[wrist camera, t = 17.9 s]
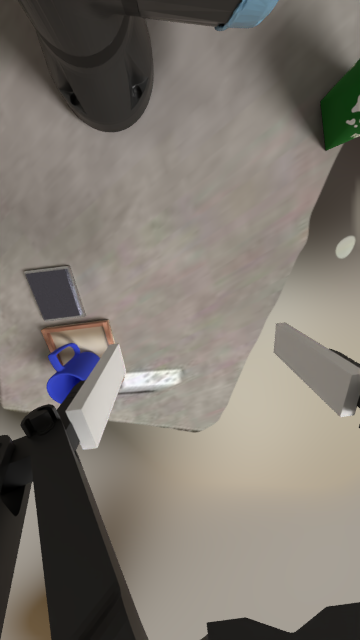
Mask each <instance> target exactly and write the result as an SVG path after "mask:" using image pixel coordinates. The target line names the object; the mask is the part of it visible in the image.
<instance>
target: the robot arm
mask: <svg viewBox="0 0 360 640" xmlns="http://www.w3.org/2000/svg"><path fill="white" fill-rule="evenodd" d="M18 1H19V3H20V5H21V6H22V8H23V9H24V11H25V13H26V14H27V16H28V18H29V19H30V21H31V22H32V24H33V26H34V27H35V29H36V32H37V35H38V38H39V41H40V44H41V47H42V51H43V54H44V57H45V60H46V63H47V66H48V69H49V71H50V74H51V76H52V78H53V80H54V82H55V84H56V86H57V88H58V90H59V92H60V93H61V95H62V96H63V98H64V99H65V101H66V102H67V103H68V105H69V106H70V108H71V109H72V110H73V111H74V113H75V114H76V115H77V116H78V117H79V118H80V119H81V120H83V121H84V122H85V123H87V124H88V125H90V126H91V127H93V128H95V129H98V130H101V131H105V132H117V131H122V130H124V129H127V128H129V127H130V126H132V125H133V124H134V123H135V122H136V121H137V120H138V119H139V118H140V117H141V116H142V114H143V113H144V111H145V109H146V107H147V105H148V102H149V99H150V96H151V92H152V87H153V58H152V48H151V42H150V37H149V33H148V29H147V25H146V22H145V19H144V18H148V19H156V20H164V21H172V22H180V23H188V24H196V25H204V26H212V27H215V30H217V31H224V30H225V29H227V28H252V27H255V26H257V25H258V24H259V23H260V22H261V21H262V20H263V19H264V18H265V17H266V16H268V15H269V13H270V12H271V11H272V10H273V8H274V7H275V5H276V4H277V2H278V1H279V0H18ZM274 353H275V354H276V355H277V356H278V357H279V358H280V359H281V360H282V361H283V362H284V363H285V364H286V365H287V366H288V367H289V368H290V369H291V370H293V372H295V373H296V374H297V375H298V376H299V377H300V378H301V379H302V380H303V381H304V382H305V383H306V384H307V385H308V386H309V387H310V388H311V389H312V390H313V391H314V392H315V393H316V394H317V395H318V396H319V397H320V398H321V399H322V400H324V402H326V404H328V405H329V407H331V408H332V409H333V410H334V411H335V412H336V413H337V414H338V415H339V416H340V417H343V416H351V415H354V414H355V411H356V408H357V406H358V407H359V408H360V364H359V363H357V362H355V361H354V360H352V359H350V358H348V357H347V356H345V355H344V354H342V353H340V352H338V351H335V350H332V349H328V348H326V347H324V346H323V345H321V344H320V343H318V342H316V341H314V340H313V339H311V338H310V337H308V336H306V335H305V334H303V333H302V332H300V331H298V330H297V329H295V328H293V327H291V326H290V325H288V324H287V323H277V324H276V332H275V343H274ZM125 373H126V368H125V365H124V361H123V357H122V353H121V350H120V346H119V343H118V344H110V345H109V346H108V348H107V349H106V351H105V352H104V354H103V355H102V357H101V358H100V360H99V361H98V363H97V364H96V366H95V367H94V369H93V370H92V372H91V373H90V375H89V376H88V378H87V379H86V380H82V381H80V382H79V383H77V384H76V385H75V386H74V387H73V388H72V390H71V391H70V392H69V394H68V395H67V397H66V399H64V401H63V402H62V404H61V405H60V406H59V408H58V409H57V410H56V408H55V407H54V406H53V405H50V404H48V405H43V406H41V407H38V408H36V409H35V410H33V411H31V412H30V413H29V414H28V415H27V416H25V418H24V419H23V420H22V422H21V427H22V429H23V430H24V432H25V434H26V435H27V436H24V437H22V438H19V439H16V440H14V441H12V440H11V438H10V437H9V436H8V435H2V436H0V638H1V633H2V628H3V623H4V618H5V613H6V608H7V603H8V598H9V593H10V588H11V583H12V578H13V573H14V568H15V563H16V558H17V554H18V548H19V544H20V539H21V533H22V528H23V524H24V518H25V514H26V509H27V504H28V499H29V494H30V489H31V483H32V482H33V483H34V492H35V501H36V508H37V517H38V527H39V535H40V544H41V553H42V561H43V570H44V578H45V587H46V596H47V604H48V612H49V622H50V630H51V639H52V640H148V637H147V635H146V633H145V630H144V628H143V626H142V623H141V621H140V618H139V616H138V613H137V610H136V608H135V605H134V602H133V600H132V597H131V594H130V592H129V589H128V586H127V584H126V581H125V578H124V576H123V573H122V570H121V568H120V565H119V563H118V560H117V557H116V554H115V552H114V549H113V546H112V544H111V541H110V539H109V536H108V533H107V531H106V528H105V525H104V523H103V520H102V518H101V515H100V512H99V509H98V507H97V504H96V501H95V499H94V496H93V493H92V491H91V488H90V485H89V483H88V480H87V478H86V475H85V472H84V470H83V467H82V464H81V462H80V459H79V456H78V454H77V452H76V449H77V447H78V445H79V443H80V444H81V446H82V449H83V450H85V449H92V448H97V447H98V444H99V442H100V439H101V437H102V434H103V431H104V429H105V426H106V423H107V421H108V418H109V415H110V413H111V410H112V407H113V405H114V402H115V399H116V397H117V394H118V391H119V389H120V386H121V383H122V381H123V378H124V375H125ZM359 428H360V425H359ZM207 630H208V634H207V635H206V636H205V637H204V638H202V639H201V640H360V602H359V603H351V604H344V605H338V606H337V605H336V606H329V607H326V608H324V609H323V610H322V611H321V612H320V613H318V614H317V615H316V616H315V617H313V618H312V619H311V620H310V621H308V622H307V623H306V624H305V625H303V626H302V627H301V628H300V629H299V630H297V631H296V632H294V633H289V632H286V631H283V630H280V629H277V628H274V627H272V626H268V625H266V624H263V623H260V622H257V621H254V620H251V619H248V618H238V619H231V620H223V621H216V622H208V623H207Z"/></svg>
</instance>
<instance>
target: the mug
mask: <svg viewBox="0 0 360 640" xmlns="http://www.w3.org/2000/svg"><path fill="white" fill-rule="evenodd" d="M69 346H70V347H72V348H73V350H74V352H75V355H74V357H73V358H72V359H71V360H69V361H68V362H67V363H66V364H65V365H64V366H62V365H61V363H60V362H59V360H58V358H57V356H56V355H57V354H58V353H59V352H61V351H62V350H63V349H65V348H67V347H69ZM48 358H49V360H50V362H51V364H52V365H53V367H54V368H55V370H56V371H57V372H56V373H55V374H54V375H53V376H52V377H51V378H50V379H49V380H48V383H47V391H48V393H49V395H50V397H51V398H52V399H54V400H55V401H56V402H58V403H60V404H62V402H63V401H64V399H66V397H67V395H68V394H69V392H70V391H71V390H72V388H73V387H74V386H75V385H76V384H77V383H79V382H80V381H82V380H86V379H87V378H88V376H89V375H90V373H91V372H92V370H93V369H94V367H95V366H96V364H97V363H98V361H99V360H100V358H99V357H98V356H97V355H96V354H94V353H92V352H82V353H80V349H79V347H78V345H77V344H75V343H68V344H65V345H63V346H61V347H59V348H58V349H56V350H55V351H53V352H52V353H50V354H49V355H48Z"/></svg>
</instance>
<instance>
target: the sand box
mask: <svg viewBox="0 0 360 640" xmlns="http://www.w3.org/2000/svg"><path fill="white" fill-rule="evenodd" d="M41 332H42V334H43V336H44V339H45V341H46V343H47V346H48V348H49V350H50V352H51V353H52V352H53V351H55V350H56V349H58V348H59V347H61V346H63V345H65V344H68V343H75V344H77V345H78V347H79V349H80V353H82V352H92V353H94V354H96V355H97V356H98V357H99V358H101V357H102V355H103V354H104V352H105V351H106V349H107V348H108V346H109V345H110V344H115V341H114V338H113V334H112V330H111V327H110V323H109V320H101V321H93V322H85V323H77V324H69V325H61V326H53V327H46V328H44V329H43V330H41ZM74 355H75V352H74V350H73V348H72V347H70V346H69V347H67V348H65V349H63V350H62V351H61V352H59V353H58V354H57V355H56V356H57V358H58V360H59V362H60V363H61V365H62V366H64V365H65V364H66V363H67V362H68V361H69V360H71V359H72V358H73V357H74ZM123 380H124V378H123ZM122 382H123V381H122Z"/></svg>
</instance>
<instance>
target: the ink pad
mask: <svg viewBox="0 0 360 640" xmlns="http://www.w3.org/2000/svg"><path fill="white" fill-rule="evenodd" d="M24 273H25V276H26V278H27V280H28V283H29V285H30V288H31V290H32V292H33V295H34V297H35V300H36V302H37V304H38V307H39V309H40V312H41V314H42V316H43V319H44V321H52V320H60V319H68V318H76V317H84V316H86V314H85V311H84V308H83V305H82V302H81V299H80V296H79V292H78V289H77V286H76V283H75V280H74V277H73V274H72V271H71V268H70V266H64V267H55V268H47V269H39V270H31V271H24Z"/></svg>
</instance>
